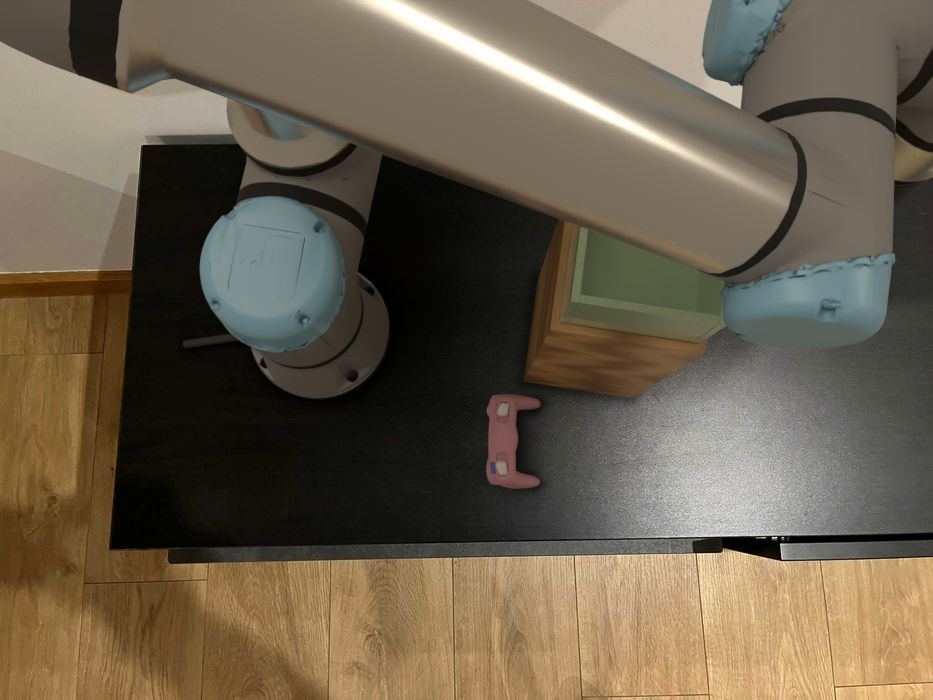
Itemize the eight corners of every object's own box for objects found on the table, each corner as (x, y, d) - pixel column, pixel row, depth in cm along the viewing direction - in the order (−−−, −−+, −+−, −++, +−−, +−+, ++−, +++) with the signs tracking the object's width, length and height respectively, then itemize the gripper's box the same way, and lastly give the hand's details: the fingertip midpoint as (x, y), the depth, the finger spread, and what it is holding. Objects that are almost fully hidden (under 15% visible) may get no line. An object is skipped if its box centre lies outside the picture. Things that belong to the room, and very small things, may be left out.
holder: (558, 323, 53) (570, 301, 47) (575, 194, 56) (589, 157, 50) (698, 344, 53) (728, 325, 47) (710, 213, 55) (739, 179, 49)
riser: (523, 381, 77) (550, 329, 53) (537, 279, 79) (569, 186, 56) (631, 398, 76) (706, 353, 53) (642, 294, 79) (718, 208, 55)
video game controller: (505, 399, 78) (478, 389, 72) (543, 397, 76) (519, 387, 70) (503, 489, 76) (475, 487, 69) (543, 490, 74) (518, 488, 67)
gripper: (769, 259, 46) (675, 334, 66) (1080, 107, 48) (895, 226, 69) (711, 164, 47) (637, 267, 68) (1015, 22, 49) (853, 164, 70)
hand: (767, 247), depth 68 cm, fingers open, 13 cm apart
